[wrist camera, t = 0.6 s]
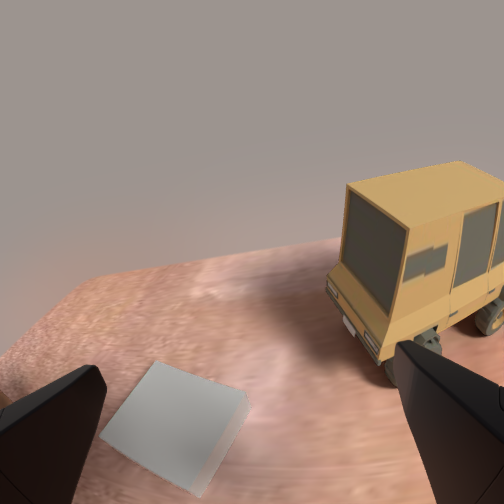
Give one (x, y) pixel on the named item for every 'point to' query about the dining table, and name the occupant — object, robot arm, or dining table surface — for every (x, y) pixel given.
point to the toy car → (420, 257)
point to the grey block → (178, 426)
